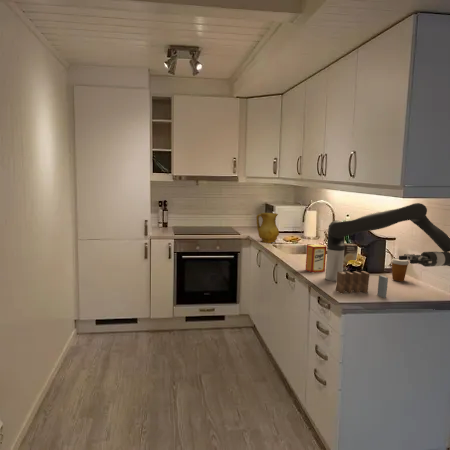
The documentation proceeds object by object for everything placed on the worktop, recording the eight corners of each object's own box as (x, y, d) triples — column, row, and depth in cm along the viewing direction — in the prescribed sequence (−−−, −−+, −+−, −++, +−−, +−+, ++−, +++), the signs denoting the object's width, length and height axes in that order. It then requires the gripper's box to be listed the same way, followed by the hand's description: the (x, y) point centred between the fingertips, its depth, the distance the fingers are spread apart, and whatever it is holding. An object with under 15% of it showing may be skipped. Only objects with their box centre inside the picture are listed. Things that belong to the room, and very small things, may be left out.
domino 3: (354, 290, 223) (356, 271, 222) (359, 292, 218) (361, 273, 217) (351, 290, 222) (353, 271, 221) (356, 293, 218) (358, 273, 216)
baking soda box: (318, 269, 268) (320, 244, 266) (324, 271, 262) (326, 245, 260) (305, 270, 264) (307, 244, 262) (311, 272, 258) (313, 246, 256)
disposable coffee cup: (400, 282, 242) (402, 262, 241) (385, 279, 250) (387, 258, 248) (410, 281, 247) (412, 260, 246) (396, 277, 255) (397, 257, 254)
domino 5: (380, 294, 216) (381, 275, 215) (386, 297, 212) (387, 277, 210) (377, 294, 216) (379, 275, 215) (383, 297, 211) (385, 277, 210)
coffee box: (341, 270, 268) (343, 244, 266) (338, 268, 274) (340, 243, 272) (356, 270, 268) (358, 245, 266) (352, 268, 274) (354, 243, 272)
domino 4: (362, 289, 224) (363, 271, 223) (367, 292, 219) (369, 273, 218) (359, 290, 223) (361, 271, 222) (364, 292, 219) (366, 273, 217)
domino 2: (346, 290, 222) (348, 271, 220) (351, 293, 217) (353, 273, 216) (343, 290, 221) (345, 271, 220) (348, 293, 216) (350, 273, 215)
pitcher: (267, 243, 353) (268, 213, 352) (252, 241, 368) (254, 212, 367) (282, 243, 363) (284, 213, 362) (268, 240, 378) (269, 212, 377)
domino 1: (338, 290, 221) (340, 271, 219) (343, 293, 216) (345, 273, 214) (335, 290, 220) (337, 271, 219) (340, 293, 215) (342, 273, 214)
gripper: (423, 249, 225) (396, 249, 221) (443, 254, 211) (415, 254, 207) (422, 263, 225) (395, 263, 221) (442, 269, 212) (413, 270, 208)
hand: (404, 259), depth 214 cm, fingers open, 8 cm apart
